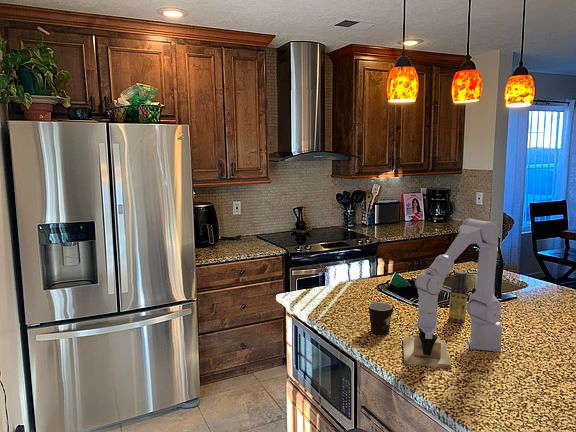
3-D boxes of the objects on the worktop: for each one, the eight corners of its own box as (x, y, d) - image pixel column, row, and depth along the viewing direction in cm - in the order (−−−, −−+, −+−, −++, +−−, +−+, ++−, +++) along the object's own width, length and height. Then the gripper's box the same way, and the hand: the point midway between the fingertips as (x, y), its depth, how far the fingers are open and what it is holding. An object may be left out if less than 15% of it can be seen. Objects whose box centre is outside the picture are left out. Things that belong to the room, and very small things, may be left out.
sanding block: (439, 353, 139) (439, 337, 138) (440, 359, 135) (441, 342, 134) (413, 351, 141) (414, 335, 140) (414, 356, 137) (414, 340, 136)
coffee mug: (374, 338, 154) (375, 311, 153) (364, 329, 162) (364, 303, 161) (403, 334, 157) (404, 308, 156) (391, 325, 165) (392, 300, 164)
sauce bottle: (447, 321, 168) (449, 272, 165) (449, 316, 173) (451, 268, 171) (465, 324, 165) (467, 274, 162) (466, 319, 170) (469, 270, 168)
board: (444, 343, 149) (444, 340, 149) (451, 368, 132) (451, 364, 131) (403, 339, 152) (403, 336, 152) (404, 363, 135) (404, 360, 135)
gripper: (413, 302, 144) (412, 340, 146) (415, 318, 130) (414, 360, 132) (435, 303, 142) (434, 342, 144) (440, 319, 128) (438, 362, 130)
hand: (426, 351), depth 138 cm, fingers open, 5 cm apart
